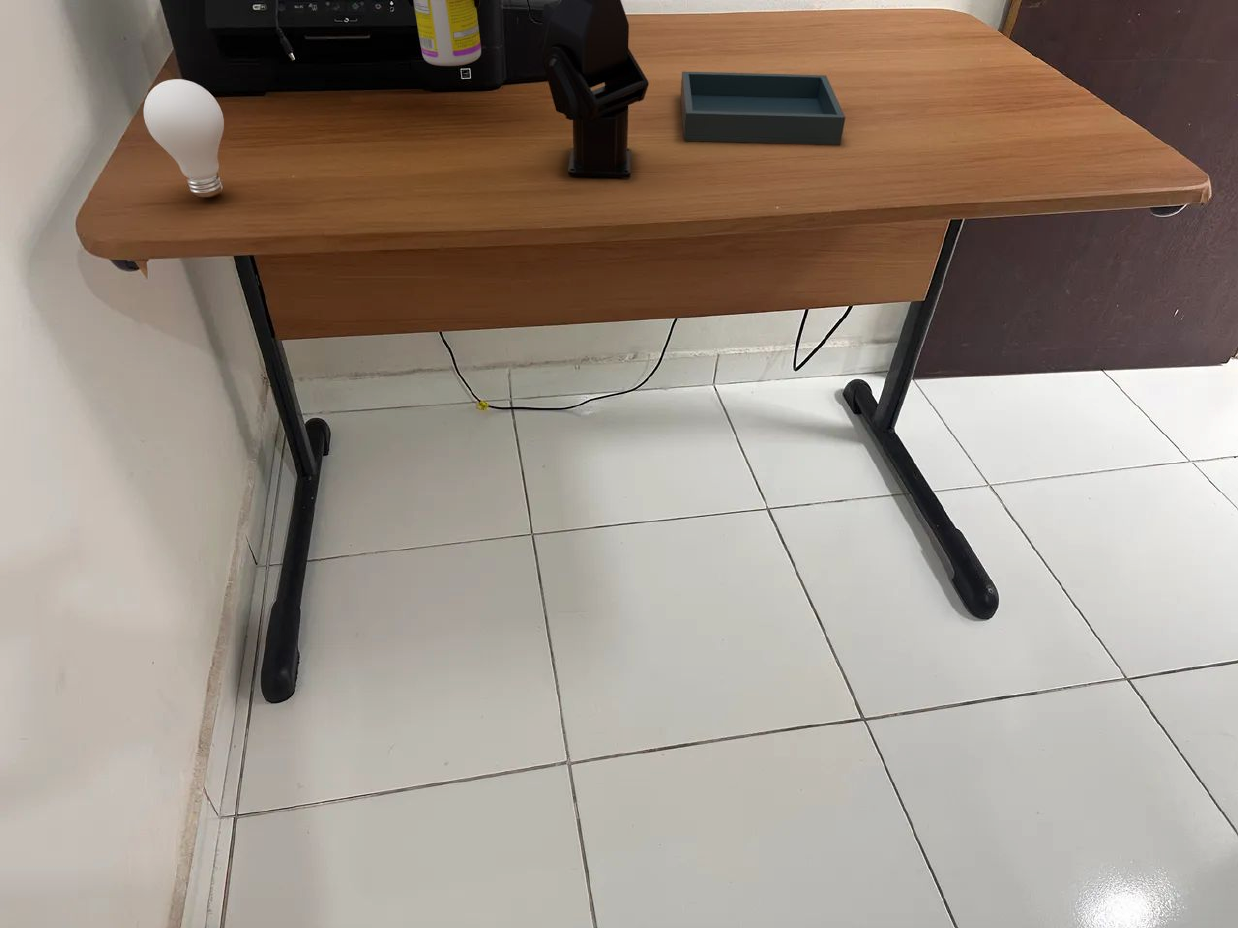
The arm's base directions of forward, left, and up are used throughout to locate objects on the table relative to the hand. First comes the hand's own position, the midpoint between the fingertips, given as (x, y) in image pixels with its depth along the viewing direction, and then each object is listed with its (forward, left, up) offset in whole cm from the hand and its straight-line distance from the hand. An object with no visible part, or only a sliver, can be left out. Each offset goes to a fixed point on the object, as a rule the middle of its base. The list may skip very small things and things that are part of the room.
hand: (445, 6), depth 95 cm
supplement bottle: (0, 0, -6) cm, 6 cm away
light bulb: (-24, +21, -12) cm, 34 cm away
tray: (0, -35, -12) cm, 37 cm away
